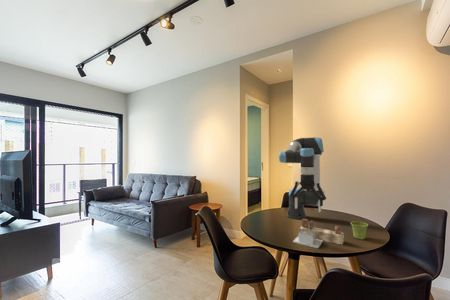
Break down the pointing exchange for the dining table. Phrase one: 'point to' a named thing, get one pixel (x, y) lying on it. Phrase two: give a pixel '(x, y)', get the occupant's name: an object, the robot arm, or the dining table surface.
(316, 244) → the rubber mat
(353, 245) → the dining table surface
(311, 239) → the lever cap
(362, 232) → the plant pot
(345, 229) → the dining table surface
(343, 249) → the dining table surface
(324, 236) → the hand plane
